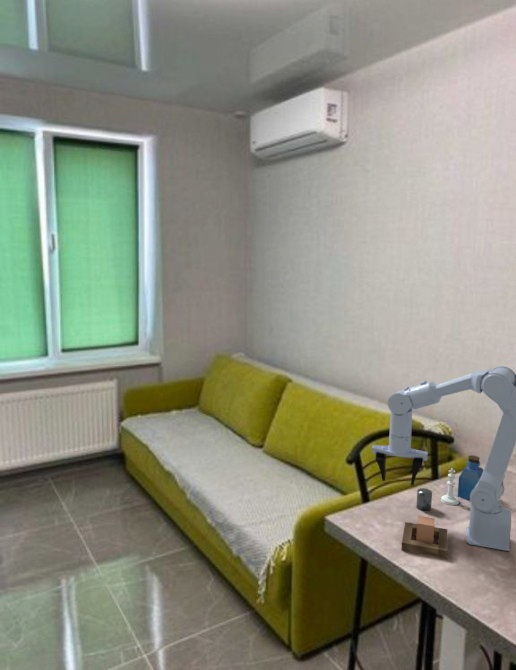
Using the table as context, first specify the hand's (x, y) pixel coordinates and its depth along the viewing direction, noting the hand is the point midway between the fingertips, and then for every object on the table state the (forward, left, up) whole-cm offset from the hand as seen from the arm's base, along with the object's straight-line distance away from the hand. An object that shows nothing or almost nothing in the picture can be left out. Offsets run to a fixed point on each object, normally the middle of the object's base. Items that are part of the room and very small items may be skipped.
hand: (398, 481), depth 143 cm
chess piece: (-14, -13, -10) cm, 21 cm away
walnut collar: (-8, +13, -9) cm, 18 cm away
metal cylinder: (-7, -6, -9) cm, 13 cm away
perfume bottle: (-20, -19, -10) cm, 29 cm away
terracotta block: (-8, +13, -10) cm, 18 cm away
